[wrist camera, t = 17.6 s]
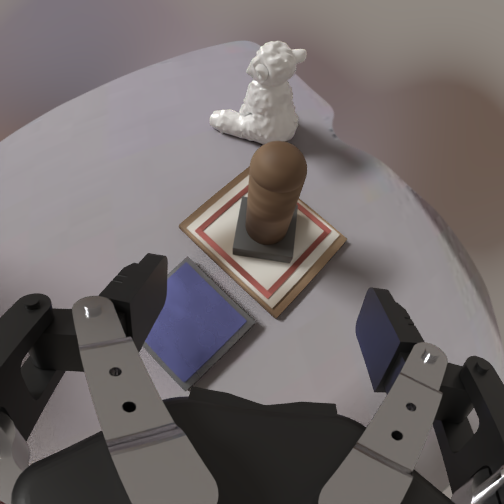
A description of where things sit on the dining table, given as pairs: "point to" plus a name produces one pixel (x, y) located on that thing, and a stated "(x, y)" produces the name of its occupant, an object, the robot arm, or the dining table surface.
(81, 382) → the dining table surface
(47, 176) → the dining table surface
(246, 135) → the seated beast figurine
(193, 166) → the dining table surface
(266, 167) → the stamp
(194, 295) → the ink pad
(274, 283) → the framed board
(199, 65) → the dining table surface
